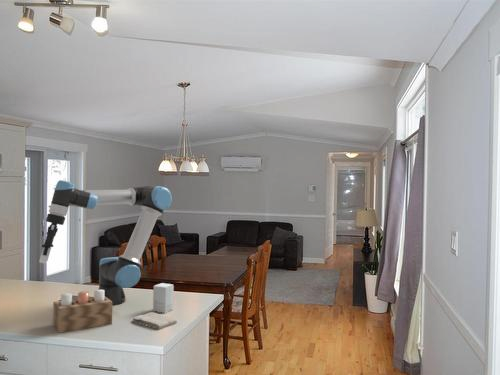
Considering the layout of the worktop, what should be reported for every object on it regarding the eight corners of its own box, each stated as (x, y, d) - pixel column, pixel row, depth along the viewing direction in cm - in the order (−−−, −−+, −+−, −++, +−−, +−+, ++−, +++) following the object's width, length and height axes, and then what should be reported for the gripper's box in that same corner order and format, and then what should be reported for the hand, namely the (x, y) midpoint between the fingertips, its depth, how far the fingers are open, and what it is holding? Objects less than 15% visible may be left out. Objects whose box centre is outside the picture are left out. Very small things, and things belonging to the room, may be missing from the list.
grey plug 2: (102, 308, 207) (102, 289, 207) (105, 311, 203) (105, 291, 203) (92, 310, 204) (92, 290, 204) (95, 312, 201) (95, 292, 201)
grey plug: (70, 313, 199) (70, 292, 199) (72, 316, 195) (73, 295, 195) (59, 314, 196) (59, 294, 196) (62, 317, 193) (62, 296, 193)
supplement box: (173, 309, 226) (174, 284, 225) (164, 313, 219) (165, 287, 219) (161, 307, 229) (162, 282, 229) (152, 311, 222) (153, 285, 222)
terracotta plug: (86, 311, 203) (87, 291, 203) (89, 313, 199) (89, 293, 199) (76, 312, 200) (76, 292, 200) (79, 315, 197) (79, 294, 197)
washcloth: (150, 316, 215) (150, 310, 215) (178, 324, 205) (178, 317, 205) (130, 322, 205) (130, 316, 205) (159, 331, 195) (159, 323, 195)
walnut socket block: (103, 316, 211) (104, 295, 211) (112, 324, 201) (112, 301, 201) (53, 324, 198) (53, 301, 198) (59, 332, 189) (59, 308, 188)
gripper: (49, 213, 214) (36, 258, 210) (46, 212, 191) (31, 262, 187) (66, 217, 216) (53, 261, 213) (65, 216, 193) (50, 265, 190)
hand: (43, 261), depth 200 cm, fingers open, 13 cm apart
